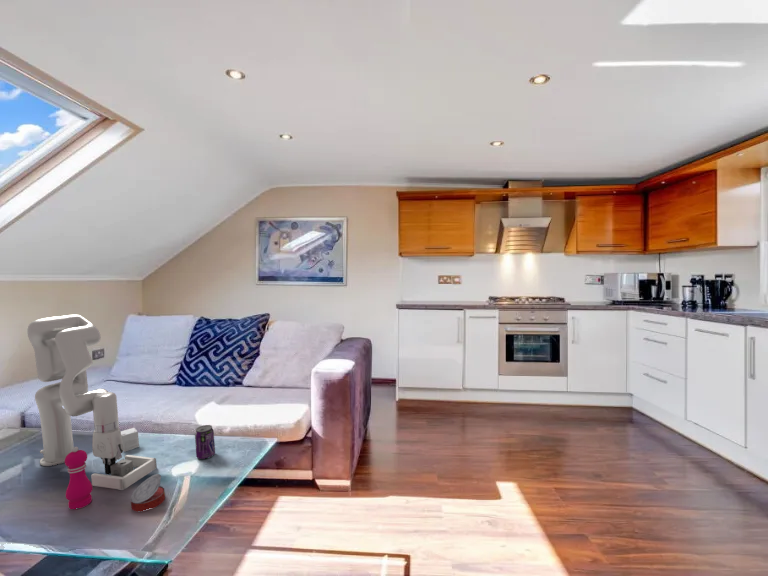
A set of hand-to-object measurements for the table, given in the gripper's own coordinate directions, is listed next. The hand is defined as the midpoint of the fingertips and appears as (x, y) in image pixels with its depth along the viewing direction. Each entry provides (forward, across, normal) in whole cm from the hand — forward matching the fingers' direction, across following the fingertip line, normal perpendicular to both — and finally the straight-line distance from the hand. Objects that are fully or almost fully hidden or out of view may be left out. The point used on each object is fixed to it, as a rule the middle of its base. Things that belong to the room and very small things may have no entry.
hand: (110, 472), depth 152 cm
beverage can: (+1, +26, +20) cm, 33 cm away
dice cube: (+1, +5, 0) cm, 5 cm away
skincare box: (+2, -13, +20) cm, 24 cm away
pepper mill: (+1, +6, -17) cm, 18 cm away
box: (+1, +6, 0) cm, 7 cm away
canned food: (+1, +28, -11) cm, 31 cm away
